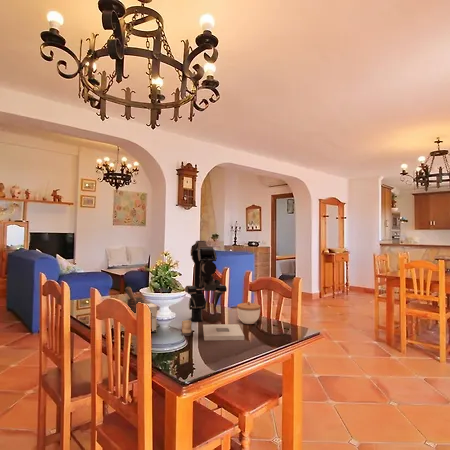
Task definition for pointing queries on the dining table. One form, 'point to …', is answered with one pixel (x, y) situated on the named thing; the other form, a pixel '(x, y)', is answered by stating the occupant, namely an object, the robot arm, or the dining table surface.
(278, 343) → the dining table surface
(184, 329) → the maple spool
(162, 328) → the dining table surface
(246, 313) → the lidded bowl
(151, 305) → the supplement box
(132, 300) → the mortar and pestle
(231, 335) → the socket block
